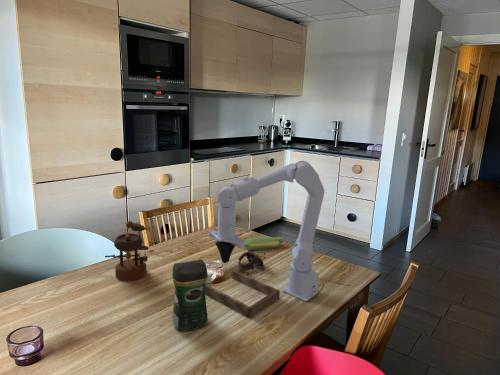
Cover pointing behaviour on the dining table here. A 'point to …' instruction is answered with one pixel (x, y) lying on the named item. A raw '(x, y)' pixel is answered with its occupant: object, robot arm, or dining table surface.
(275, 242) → the edible corn
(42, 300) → the dining table surface
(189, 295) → the coffee jar
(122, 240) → the music box
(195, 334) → the dining table surface
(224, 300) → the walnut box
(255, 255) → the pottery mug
